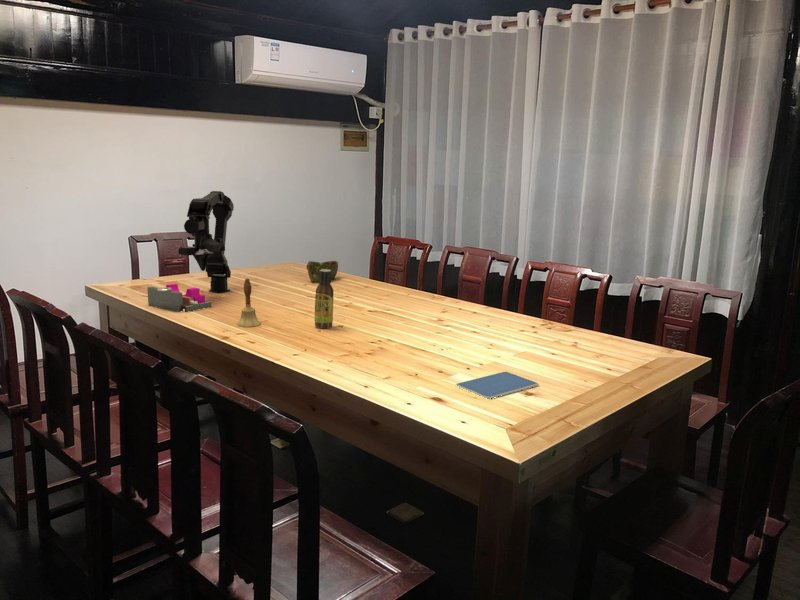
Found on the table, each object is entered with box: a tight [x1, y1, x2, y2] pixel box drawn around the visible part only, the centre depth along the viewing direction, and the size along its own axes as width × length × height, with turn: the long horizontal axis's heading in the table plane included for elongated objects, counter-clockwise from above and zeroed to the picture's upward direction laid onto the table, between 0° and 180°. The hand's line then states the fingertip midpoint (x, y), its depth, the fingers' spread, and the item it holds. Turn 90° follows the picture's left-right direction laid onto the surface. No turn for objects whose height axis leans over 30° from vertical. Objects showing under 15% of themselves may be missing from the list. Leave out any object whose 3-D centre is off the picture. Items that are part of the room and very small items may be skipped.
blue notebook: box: [455, 371, 540, 399], centre depth 170 cm, size 19×13×1 cm, turn 127°
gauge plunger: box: [182, 296, 198, 306], centre depth 247 cm, size 2×20×4 cm, turn 56°
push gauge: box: [147, 286, 212, 313], centre depth 248 cm, size 15×22×8 cm
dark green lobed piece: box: [306, 260, 339, 284], centre depth 308 cm, size 13×20×10 cm, turn 123°
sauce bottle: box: [314, 269, 335, 329], centre depth 222 cm, size 6×6×20 cm
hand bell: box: [236, 278, 262, 328], centre depth 223 cm, size 8×8×16 cm
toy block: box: [165, 283, 206, 308], centre depth 251 cm, size 15×6×8 cm, turn 56°
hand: (203, 270), depth 258 cm, fingers closed
